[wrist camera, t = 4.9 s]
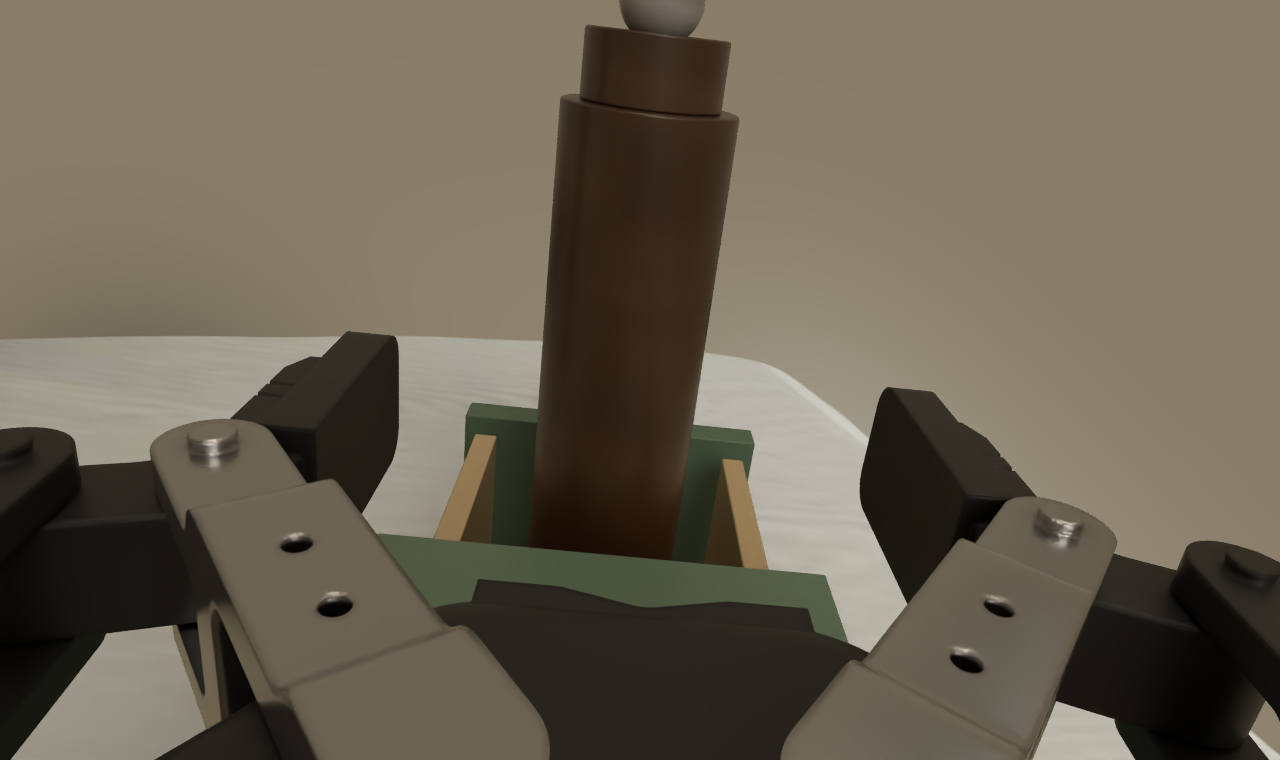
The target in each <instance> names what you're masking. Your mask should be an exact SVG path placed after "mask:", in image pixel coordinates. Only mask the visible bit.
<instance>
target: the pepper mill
mask: <svg viewBox="0 0 1280 760" xmlns="http://www.w3.org/2000/svg"><path fill="white" fill-rule="evenodd" d="M619 3H620V10H621V14H622V17H623V19H624V22H625V24H626V25H627V27H628V28H629V30H627V29H619V28H611V27H603V26H595V25H586V26H585V35H584V48H583V60H582V73H581V85H580V94H568V95H563V96H562V97H561V99H560V111H559V124H558V137H557V152H556V165H555V179H554V193H553V207H552V221H551V235H550V249H549V263H548V277H547V291H546V305H545V318H544V332H543V346H542V360H541V374H540V388H539V402H538V416H537V430H536V444H535V458H534V472H533V486H532V500H531V514H530V528H529V541H528V547H529V548H539V549H550V550H561V551H572V552H582V553H593V554H604V555H614V556H625V557H636V558H647V559H657V560H668V561H672V559H673V553H674V546H675V540H676V533H677V526H678V520H679V513H680V507H681V500H682V494H683V487H684V480H685V474H686V467H687V461H688V454H689V448H690V441H691V434H692V428H693V421H694V415H695V408H696V402H697V395H698V388H699V382H700V375H701V369H702V362H703V356H704V349H705V342H706V336H707V329H708V323H709V316H710V309H711V303H712V296H713V289H714V283H715V277H716V270H717V264H718V257H719V250H720V244H721V237H722V231H723V224H724V217H725V210H726V204H727V197H728V191H729V185H730V177H731V172H732V164H733V158H734V152H735V145H736V139H737V132H738V126H739V118H738V117H737V116H736V115H733V114H731V113H727V112H724V111H722V104H723V97H724V90H725V84H726V76H727V70H728V63H729V56H730V49H731V43H730V42H726V41H718V40H710V39H701V38H693V37H688V36H689V35H690V34H691V33H692V32H693V31H694V30H695V28H696V27H697V25H698V24H699V22H700V20H701V18H702V15H703V12H704V7H705V0H619Z"/></svg>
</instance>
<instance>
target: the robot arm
mask: <svg viewBox="0 0 1280 760" xmlns="http://www.w3.org/2000/svg"><path fill="white" fill-rule="evenodd" d="M398 430H399V351H398V343H397V340H396V338H395V336H390V335H380V334H370V333H360V332H350V331H348V332H346V333H345V334H344V335H343V336H342V337H341V338H340V339H339V340H338V341H337V342H336V343H335V344H334V345H333V346H332V347H331V348H330V349H329V350H328V351H327V352H326V353H325V354H324V355H323V356H322V357H308V358H306V359H303V360H301V361H299V362H296V363H294V364H291V365H289V366H286V367H285V368H283V369H282V370H281V371H280V372H279V373H278V374H277V375H276V376H275V377H274V378H273V379H272V380H271V381H270V384H266V385H265V386H264V387H263V388H262V389H261V390H260V391H259V392H258V396H256V395H255V396H254V397H253V398H252V399H251V400H249V401H248V402H247V403H246V404H245V405H244V406H243V407H242V408H241V409H240V410H239V411H238V412H237V413H236V414H235V415H234V416H232V417H231V418H230V419H215V420H205V421H199V422H194V423H189V424H186V425H182V426H179V427H176V428H174V429H171V430H169V431H167V432H165V433H164V434H162V435H160V436H159V437H158V438H157V439H156V440H154V442H153V443H152V445H151V447H150V456H151V460H150V461H143V462H132V463H117V464H101V465H85V466H79V463H78V457H77V451H76V445H75V441H74V439H73V438H72V437H71V436H70V435H68V434H66V433H64V432H61V431H58V430H54V429H49V428H39V427H21V428H9V429H1V430H0V760H11V758H12V757H13V756H14V755H15V753H16V752H17V751H18V750H19V748H20V747H21V746H22V744H23V743H24V742H25V741H26V739H27V738H28V737H29V735H30V734H31V733H32V732H33V730H34V729H35V728H36V727H37V725H38V724H39V723H40V721H41V720H42V719H43V718H44V716H45V715H46V714H47V712H48V711H49V710H50V709H51V707H52V706H53V705H54V704H55V702H56V701H57V700H58V698H59V697H60V696H61V695H62V693H63V692H64V691H65V689H66V688H67V687H68V686H69V684H70V683H71V682H72V681H73V679H74V678H75V677H76V675H77V674H78V673H79V672H80V670H81V669H82V668H83V666H84V665H85V664H86V663H87V661H88V660H89V659H90V658H91V656H92V655H93V654H94V652H95V651H96V650H97V649H98V647H99V646H100V645H101V643H102V641H103V640H104V637H105V635H106V633H113V632H121V631H129V630H137V629H145V628H153V627H161V626H169V625H172V626H173V633H174V639H175V641H176V644H177V647H178V650H179V653H180V656H181V658H182V661H183V664H184V667H185V670H186V673H187V675H188V678H189V681H190V684H191V687H192V690H193V693H194V695H195V698H196V701H197V704H198V707H199V710H200V712H201V715H202V718H203V721H204V724H205V727H206V730H204V731H203V732H201V733H199V734H198V735H196V736H194V737H192V738H191V739H189V740H187V741H186V742H184V743H182V744H181V745H179V746H177V747H175V748H174V749H172V750H170V751H169V752H167V753H165V754H163V755H162V756H160V757H158V758H157V759H155V760H1033V757H1034V755H1035V752H1036V750H1037V747H1038V745H1039V742H1040V740H1041V738H1042V735H1043V733H1044V730H1045V728H1046V725H1047V723H1048V720H1049V718H1050V715H1051V713H1052V710H1053V708H1054V705H1055V703H1056V701H1058V702H1061V703H1064V704H1067V705H1070V706H1074V707H1077V708H1080V709H1083V710H1087V711H1090V712H1093V713H1096V714H1100V715H1103V716H1106V717H1109V718H1112V719H1115V724H1116V728H1117V730H1118V732H1119V734H1120V735H1121V737H1122V739H1123V740H1124V742H1125V744H1126V745H1127V747H1128V748H1129V750H1130V752H1131V753H1132V755H1133V757H1134V758H1135V760H1269V759H1268V758H1267V757H1266V755H1265V754H1264V753H1263V752H1262V751H1261V749H1260V748H1259V747H1258V746H1257V744H1256V743H1255V742H1254V741H1253V739H1252V738H1251V737H1250V736H1249V732H1250V730H1251V728H1252V726H1253V724H1254V722H1255V720H1256V718H1257V716H1258V714H1259V712H1260V710H1261V708H1262V706H1263V704H1264V702H1265V701H1267V702H1268V704H1269V705H1270V706H1271V707H1272V708H1273V710H1274V711H1275V713H1276V714H1277V716H1278V718H1279V721H1280V562H1278V561H1275V560H1273V559H1271V558H1269V557H1267V556H1265V555H1263V554H1261V553H1258V552H1255V551H1252V550H1249V549H1247V548H1243V547H1240V546H1237V545H1232V544H1228V543H1223V542H1217V541H1197V542H1193V543H1191V544H1189V545H1188V546H1187V547H1186V550H1185V552H1184V554H1183V557H1182V559H1181V561H1180V564H1179V566H1178V569H1177V570H1173V569H1169V568H1165V567H1161V566H1157V565H1153V564H1150V563H1145V562H1142V561H1138V560H1134V559H1130V558H1127V557H1123V556H1120V555H1117V554H1114V551H1115V549H1116V546H1117V540H1116V537H1115V535H1114V533H1113V532H1112V531H1111V530H1110V529H1109V527H1107V526H1106V525H1105V524H1104V523H1103V522H1101V521H1100V520H1098V519H1097V518H1095V517H1093V516H1092V515H1090V514H1089V513H1087V512H1084V511H1082V510H1080V509H1078V508H1076V507H1073V506H1071V505H1068V504H1065V503H1062V502H1059V501H1055V500H1051V499H1045V498H1040V497H1037V496H1036V495H1035V494H1034V493H1033V492H1032V491H1031V489H1030V488H1029V487H1028V486H1027V485H1026V484H1025V482H1024V481H1023V480H1022V479H1021V478H1020V477H1019V475H1018V474H1017V473H1016V472H1015V471H1012V468H1011V466H1010V465H1009V464H1008V463H1007V461H1006V460H1005V459H1004V458H1002V457H1000V454H999V452H998V451H997V450H996V449H995V448H994V446H993V445H992V444H991V443H990V442H989V441H988V439H987V438H985V437H984V436H982V435H981V434H979V433H977V432H976V431H974V430H973V429H971V428H969V427H968V426H966V425H964V424H963V423H959V422H958V421H957V420H956V419H955V418H954V416H953V415H952V414H951V413H950V412H949V411H948V409H947V408H946V407H945V405H944V404H943V403H942V402H941V401H940V399H939V398H938V397H937V396H936V395H935V394H934V393H933V392H930V391H920V390H911V389H900V388H891V387H887V388H886V389H885V390H884V391H883V392H882V394H881V396H880V399H879V402H878V405H877V409H876V413H875V418H874V422H873V426H872V430H871V434H870V438H869V442H868V447H867V451H866V455H865V459H864V463H863V467H862V472H861V478H860V500H861V505H862V508H863V511H864V513H865V515H866V517H867V519H868V521H869V524H870V526H871V528H872V530H873V532H874V534H875V536H876V538H877V541H878V543H879V545H880V547H881V549H882V551H883V553H884V555H885V558H886V560H887V562H888V564H889V566H890V568H891V570H892V572H893V574H894V577H895V579H896V581H897V583H898V585H899V587H900V589H901V591H902V594H903V596H904V598H905V600H906V602H907V604H908V605H907V606H906V607H905V608H904V610H903V611H902V612H901V613H900V615H899V616H898V617H897V619H896V620H895V621H894V622H893V624H892V625H891V626H890V627H889V629H888V630H887V631H886V632H885V634H884V635H883V636H882V638H881V639H880V640H879V641H878V643H877V644H876V645H875V646H874V648H873V649H872V650H871V651H870V653H868V652H866V651H864V650H862V649H860V648H858V647H856V646H853V645H851V644H849V643H847V642H844V641H842V640H839V639H836V638H833V637H830V636H827V635H824V634H821V633H817V632H815V630H814V627H813V623H812V620H811V617H810V613H809V610H808V608H798V607H787V606H775V605H764V604H753V603H742V602H731V601H725V602H713V603H701V604H689V605H677V606H665V607H650V608H647V607H639V606H634V605H631V604H627V603H623V602H619V601H615V600H611V599H608V598H604V597H600V596H596V595H592V594H588V593H585V592H581V591H577V590H573V589H569V588H565V587H562V586H553V585H542V584H531V583H520V582H508V581H497V580H486V579H478V581H477V584H476V587H475V591H474V594H473V598H472V601H470V602H460V603H454V604H448V605H442V606H438V607H434V608H432V606H431V605H430V604H429V602H428V601H427V600H426V598H425V597H424V596H423V594H422V593H421V592H420V590H419V589H418V588H417V587H416V585H415V584H414V583H413V581H412V580H411V579H410V577H409V576H408V575H407V573H406V572H405V571H404V569H403V568H402V567H401V565H400V564H399V563H398V562H397V560H396V559H395V558H394V556H393V555H392V554H391V552H390V551H389V550H388V548H387V547H386V546H385V544H384V543H383V542H382V541H381V539H380V538H379V537H378V535H377V534H376V533H375V531H374V530H373V529H372V527H371V526H370V525H369V523H368V522H367V521H366V519H365V518H364V517H363V516H362V513H363V511H364V509H365V508H366V506H367V504H368V502H369V501H370V499H371V497H372V495H373V494H374V492H375V490H376V488H377V487H378V485H379V483H380V482H381V480H382V478H383V476H384V475H385V473H386V471H387V469H388V468H389V466H390V464H391V462H392V460H393V457H394V454H395V450H396V446H397V440H398Z"/></svg>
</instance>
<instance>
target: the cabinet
mask: <svg viewBox="0 0 1280 760" xmlns="http://www.w3.org/2000/svg"><path fill="white" fill-rule="evenodd" d="M377 535H378V537H379V538H380V539H381V541H382V542H383V543H384V544H385V546H386V547H387V548H388V550H389V551H390V552H391V554H392V555H393V556H394V558H395V559H396V560H397V562H398V563H399V564H400V565H401V567H402V568H403V569H404V571H405V572H406V573H407V575H408V576H409V577H410V579H411V580H412V581H413V583H414V584H415V585H416V587H417V588H418V589H419V590H420V592H421V593H422V594H423V596H424V597H425V598H426V600H427V601H428V602H429V604H430V605H431V606H432V608H434V607H438V606H442V605H448V604H454V603H460V602H470V601H472V598H473V594H474V591H475V587H476V584H477V581H478V579H486V580H497V581H508V582H520V583H531V584H542V585H553V586H562V587H565V588H569V589H573V590H577V591H581V592H585V593H588V594H592V595H596V596H600V597H604V598H608V599H611V600H615V601H619V602H623V603H627V604H631V605H634V606H639V607H647V608H650V607H665V606H677V605H689V604H701V603H713V602H725V601H731V602H742V603H753V604H764V605H775V606H787V607H798V608H808V610H809V613H810V617H811V620H812V623H813V627H814V630H815V632H817V633H821V634H824V635H827V636H830V637H833V638H836V639H839V640H842V641H844V642H847V643H848V640H847V638H846V635H845V632H844V629H843V626H842V623H841V620H840V617H839V614H838V611H837V608H836V606H835V603H834V600H833V597H832V594H831V591H830V588H829V585H828V582H827V579H826V576H825V575H818V574H807V573H797V572H786V571H775V570H765V569H754V568H743V567H732V566H722V565H711V564H700V563H690V562H679V561H668V560H657V559H647V558H636V557H625V556H614V555H604V554H593V553H582V552H572V551H561V550H550V549H539V548H529V547H518V546H507V545H497V544H486V543H475V542H464V541H454V540H443V539H432V538H421V537H411V536H400V535H389V534H377Z"/></svg>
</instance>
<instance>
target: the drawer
mask: <svg viewBox="0 0 1280 760" xmlns="http://www.w3.org/2000/svg"><path fill="white" fill-rule="evenodd" d="M537 416H538V409H531V408H521V407H511V406H501V405H492V404H482V403H471V405H470V407H469V409H468V412H467V414H466V423H465V451H464V464H463V466H462V469H461V471H460V474H459V476H458V479H457V481H456V484H455V486H454V489H453V491H452V494H451V496H450V499H449V501H448V504H447V506H446V508H445V511H444V513H443V516H442V518H441V521H440V523H439V526H438V528H437V531H436V533H435V536H434V538H433V539H443V540H454V541H464V542H475V543H486V544H497V545H507V546H518V547H528V541H529V528H530V514H531V500H532V486H533V472H534V458H535V444H536V430H537ZM753 450H754V441H753V437H752V434H751V431H749V430H739V429H730V428H720V427H710V426H700V425H693V428H692V434H691V441H690V448H689V454H688V461H687V467H686V474H685V480H684V487H683V494H682V500H681V507H680V513H679V520H678V526H677V533H676V540H675V546H674V553H673V559H672V561H679V562H690V563H700V564H711V565H722V566H732V567H743V568H754V569H765V570H769V569H768V565H767V561H766V557H765V552H764V548H763V544H762V540H761V536H760V532H759V528H758V524H757V519H756V515H755V511H754V507H753V503H752V499H751V495H750V491H749V486H748V477H749V471H750V466H751V460H752V455H753Z"/></svg>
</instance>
